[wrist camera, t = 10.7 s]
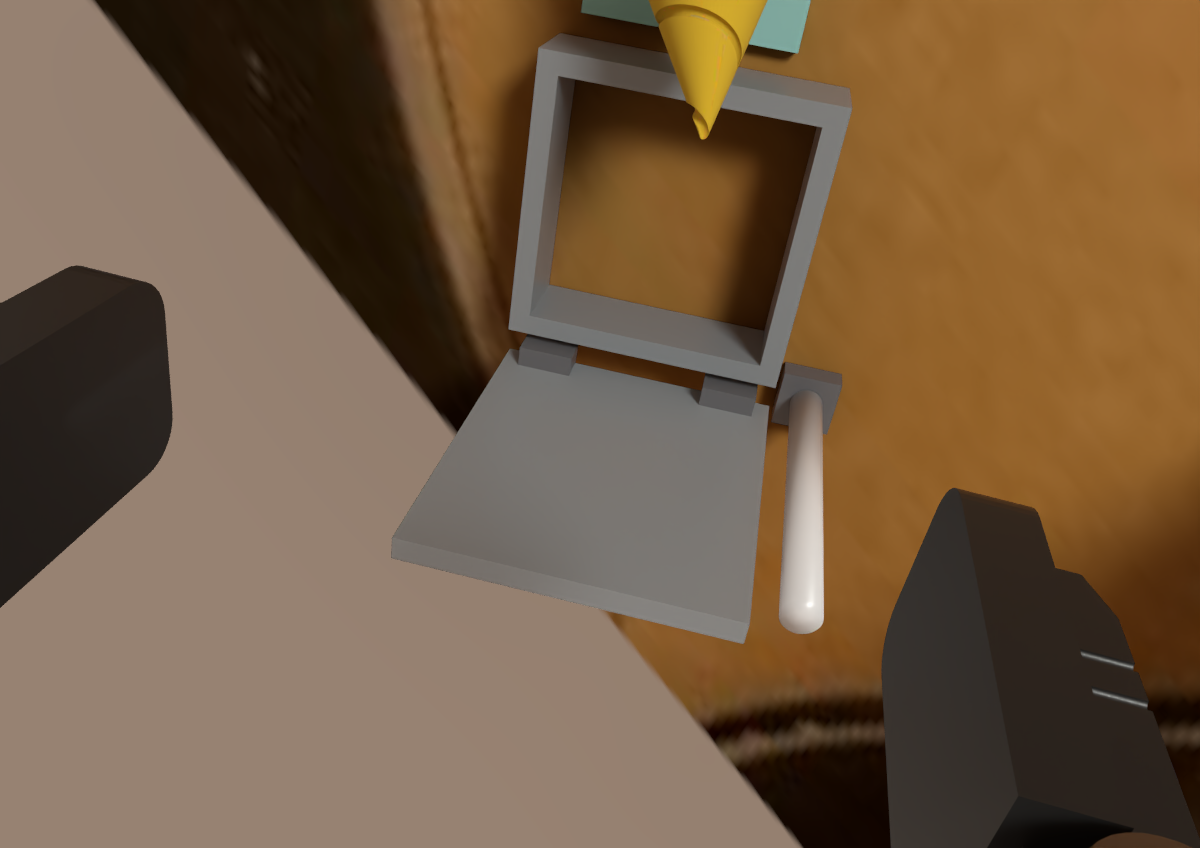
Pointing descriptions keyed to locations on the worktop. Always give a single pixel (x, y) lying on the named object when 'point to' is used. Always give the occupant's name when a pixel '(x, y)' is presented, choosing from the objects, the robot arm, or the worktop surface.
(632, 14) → the mat
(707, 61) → the drill bit
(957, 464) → the worktop surface
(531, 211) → the case
